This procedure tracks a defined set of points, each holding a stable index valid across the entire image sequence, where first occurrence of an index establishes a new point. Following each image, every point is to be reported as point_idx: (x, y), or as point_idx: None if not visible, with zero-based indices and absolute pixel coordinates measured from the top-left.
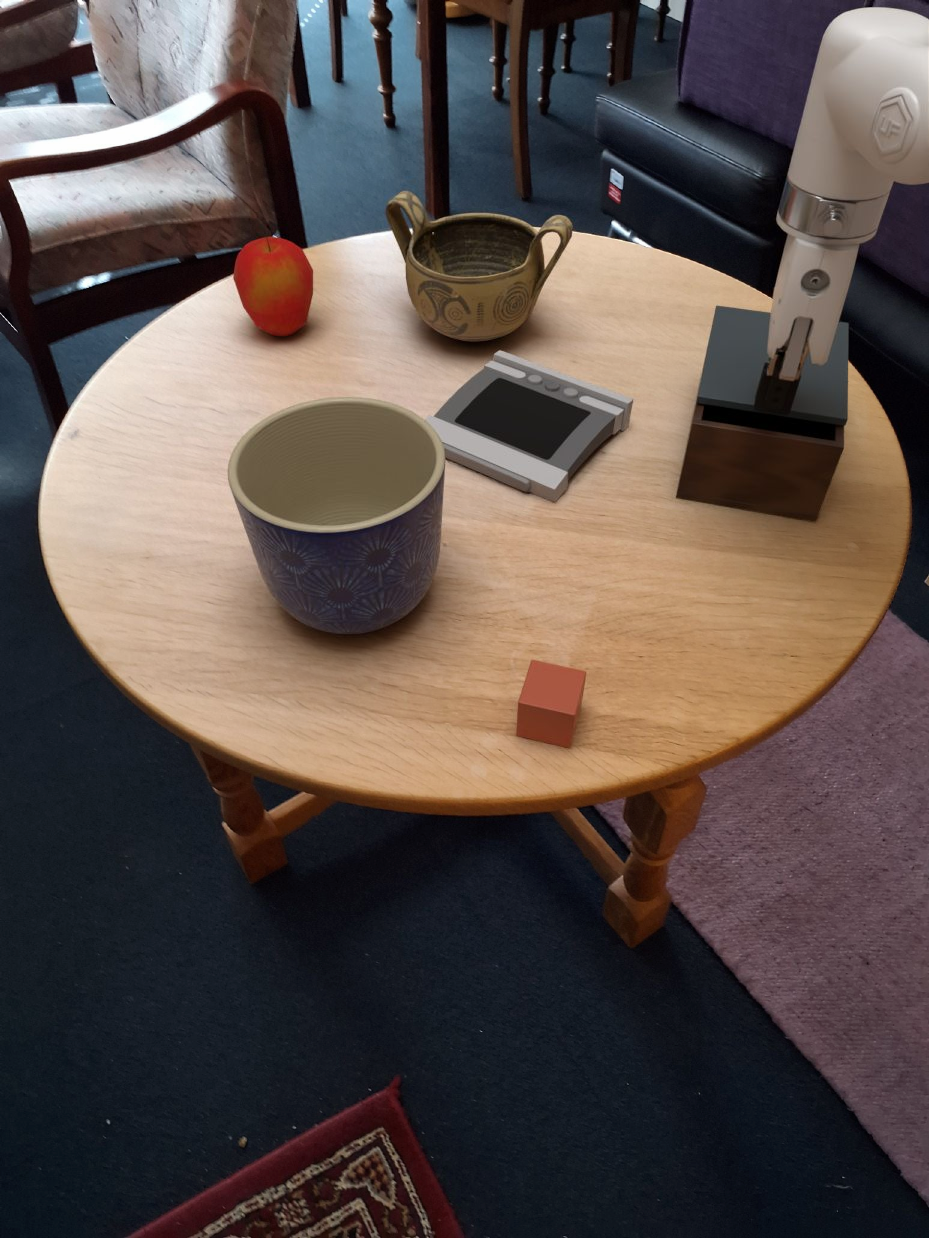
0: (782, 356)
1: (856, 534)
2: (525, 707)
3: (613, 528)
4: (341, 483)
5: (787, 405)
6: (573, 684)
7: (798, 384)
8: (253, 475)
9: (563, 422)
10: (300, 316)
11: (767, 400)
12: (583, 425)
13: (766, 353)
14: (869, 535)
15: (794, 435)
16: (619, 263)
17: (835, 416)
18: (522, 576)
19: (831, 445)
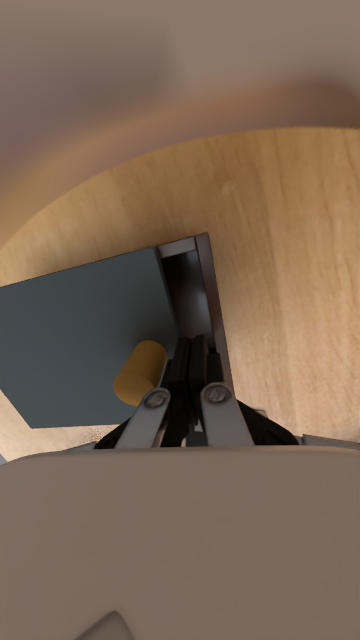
0: (177, 432)
1: (206, 190)
2: None
3: (278, 375)
4: None
5: (205, 345)
6: None
7: (204, 366)
8: None
9: (202, 438)
10: None
11: (224, 379)
12: (201, 429)
13: (74, 376)
14: (202, 175)
15: (210, 306)
16: (6, 433)
17: (157, 266)
18: (349, 409)
19: (210, 252)
